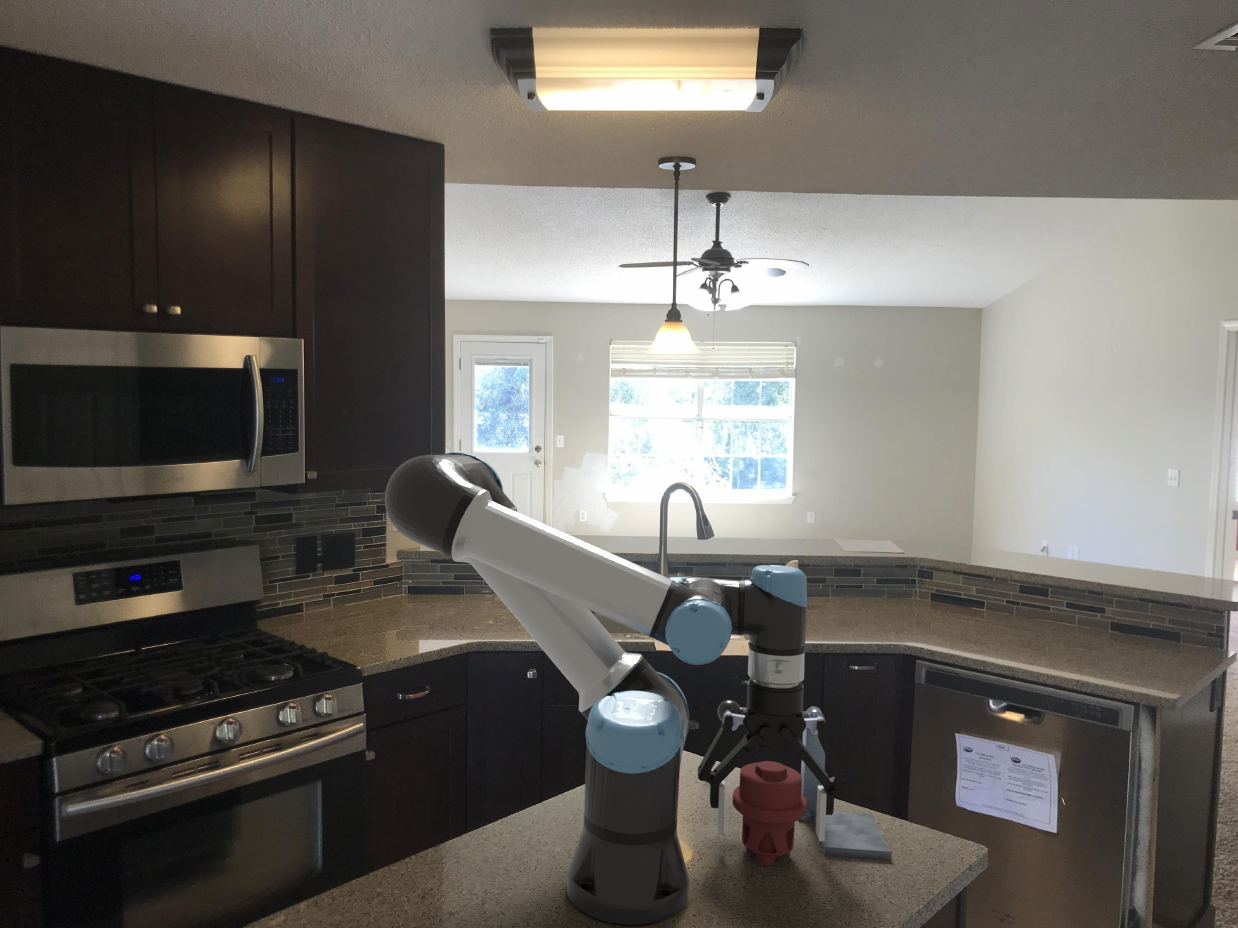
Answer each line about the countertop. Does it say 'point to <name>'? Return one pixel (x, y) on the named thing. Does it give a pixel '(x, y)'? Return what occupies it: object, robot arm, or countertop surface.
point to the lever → (737, 709)
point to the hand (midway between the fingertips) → (769, 833)
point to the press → (841, 817)
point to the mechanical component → (769, 808)
